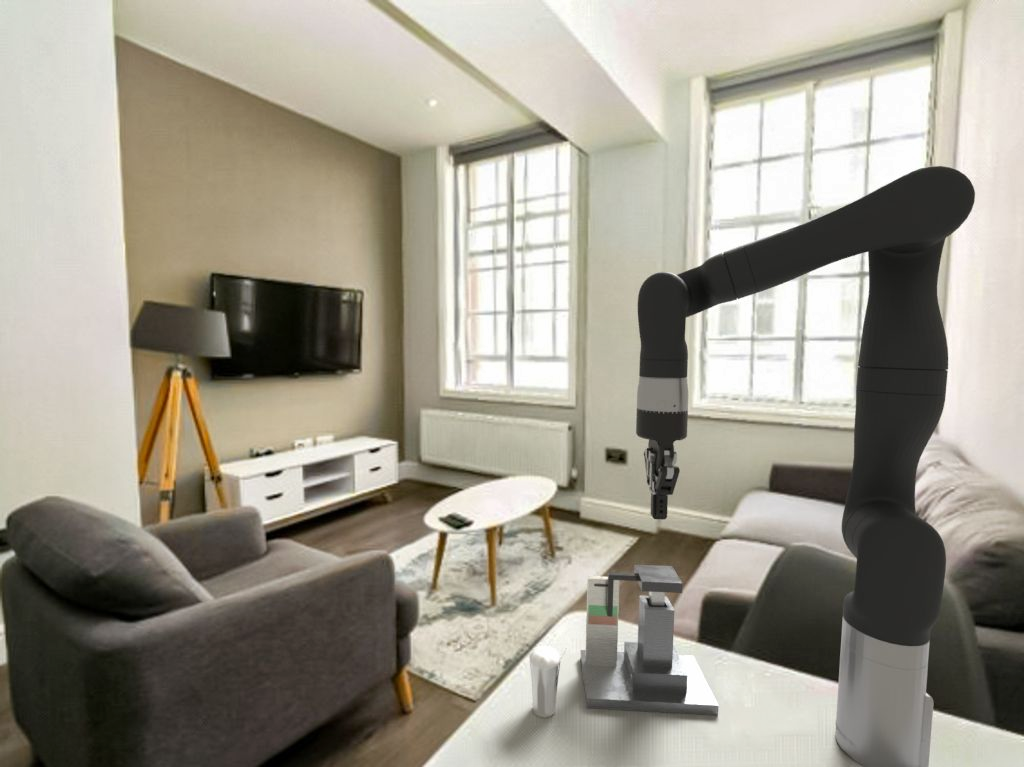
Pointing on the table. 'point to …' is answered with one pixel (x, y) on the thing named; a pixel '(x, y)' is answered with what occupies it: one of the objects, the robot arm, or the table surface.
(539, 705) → the milkshake
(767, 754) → the table surface
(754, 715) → the table surface
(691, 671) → the gauge stand
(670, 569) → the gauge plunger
